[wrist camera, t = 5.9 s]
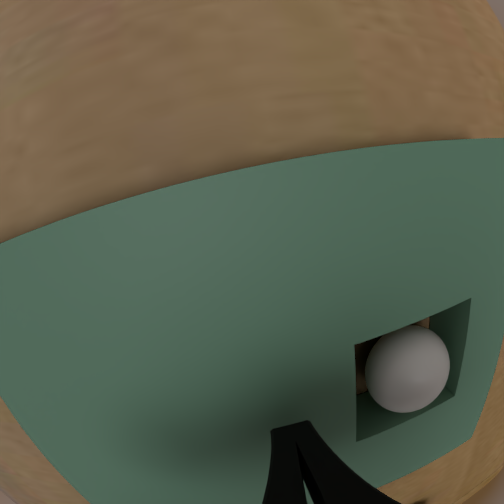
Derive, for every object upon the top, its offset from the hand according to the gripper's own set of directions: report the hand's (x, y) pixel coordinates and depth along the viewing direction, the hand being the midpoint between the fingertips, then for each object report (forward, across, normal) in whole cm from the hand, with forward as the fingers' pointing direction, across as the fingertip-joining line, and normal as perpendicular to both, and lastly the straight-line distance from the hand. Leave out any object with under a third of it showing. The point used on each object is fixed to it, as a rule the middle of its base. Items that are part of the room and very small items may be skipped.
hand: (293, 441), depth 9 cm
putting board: (+4, 0, 0) cm, 4 cm away
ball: (+2, -6, 0) cm, 6 cm away
